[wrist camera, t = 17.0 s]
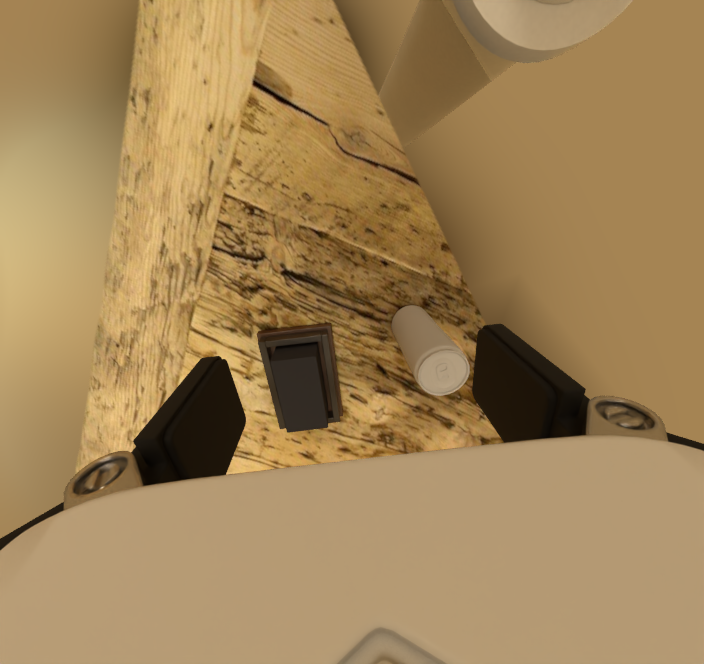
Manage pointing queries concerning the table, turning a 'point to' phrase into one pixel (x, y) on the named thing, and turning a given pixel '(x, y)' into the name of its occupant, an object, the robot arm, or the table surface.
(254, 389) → the table surface
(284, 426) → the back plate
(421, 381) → the beverage can
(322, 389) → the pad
